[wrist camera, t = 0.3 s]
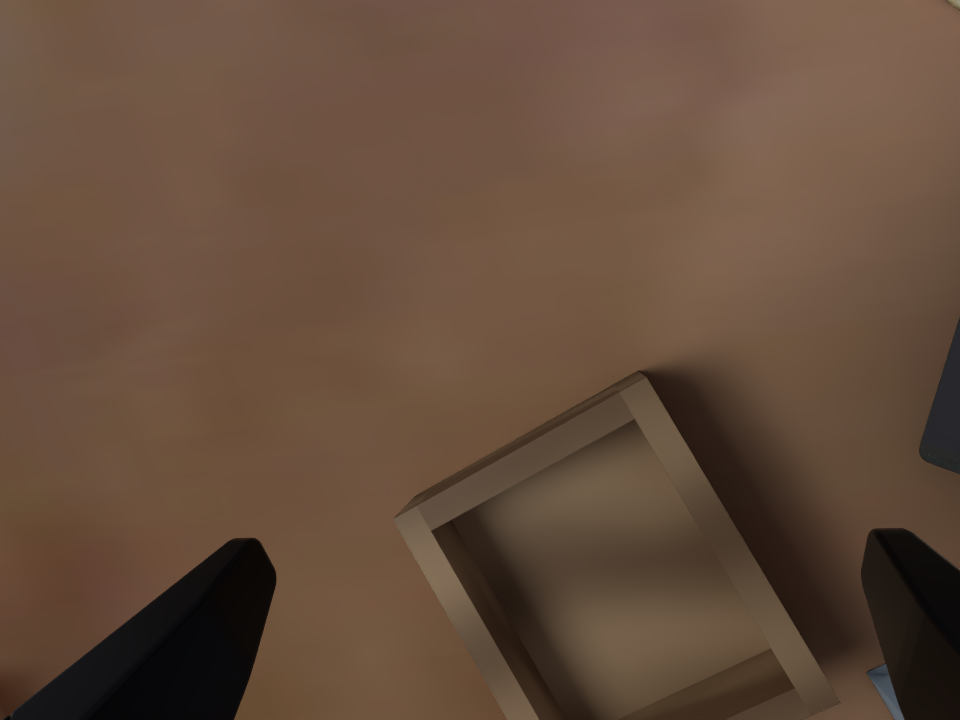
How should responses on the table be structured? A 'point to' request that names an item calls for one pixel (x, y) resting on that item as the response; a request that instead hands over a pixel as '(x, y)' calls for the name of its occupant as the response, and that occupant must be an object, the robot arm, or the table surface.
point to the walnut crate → (609, 576)
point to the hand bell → (955, 3)
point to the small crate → (886, 690)
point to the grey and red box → (945, 415)
